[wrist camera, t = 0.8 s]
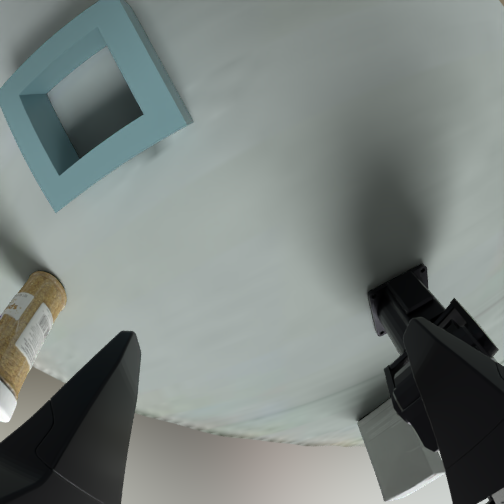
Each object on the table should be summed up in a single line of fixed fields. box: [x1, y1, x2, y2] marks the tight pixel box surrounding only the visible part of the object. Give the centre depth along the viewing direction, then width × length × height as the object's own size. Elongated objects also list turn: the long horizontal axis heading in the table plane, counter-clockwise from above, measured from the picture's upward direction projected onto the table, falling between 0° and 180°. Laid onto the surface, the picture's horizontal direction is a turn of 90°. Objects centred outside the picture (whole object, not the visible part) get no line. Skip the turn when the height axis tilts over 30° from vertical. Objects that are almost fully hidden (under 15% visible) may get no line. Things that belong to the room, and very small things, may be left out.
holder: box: [0, 0, 193, 213], centre depth 14 cm, size 10×10×4 cm
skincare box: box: [357, 398, 445, 501], centre depth 31 cm, size 8×7×16 cm
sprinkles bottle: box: [0, 271, 66, 422], centre depth 16 cm, size 5×5×13 cm
